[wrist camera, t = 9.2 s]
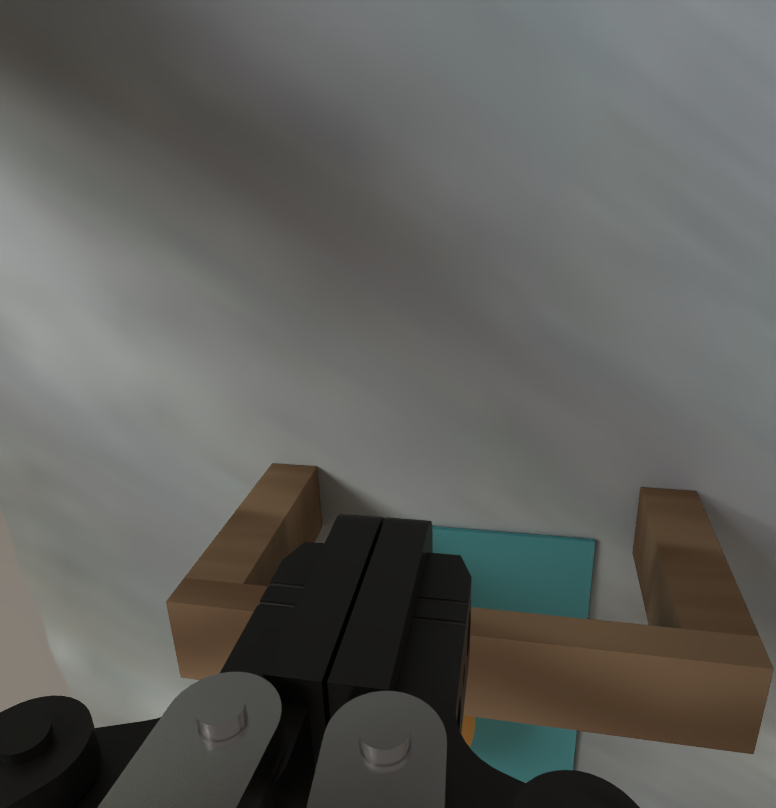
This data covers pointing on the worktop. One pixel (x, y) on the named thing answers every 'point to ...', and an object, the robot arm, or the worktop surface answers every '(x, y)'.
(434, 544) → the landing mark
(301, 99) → the worktop surface
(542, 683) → the bridge
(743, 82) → the worktop surface
